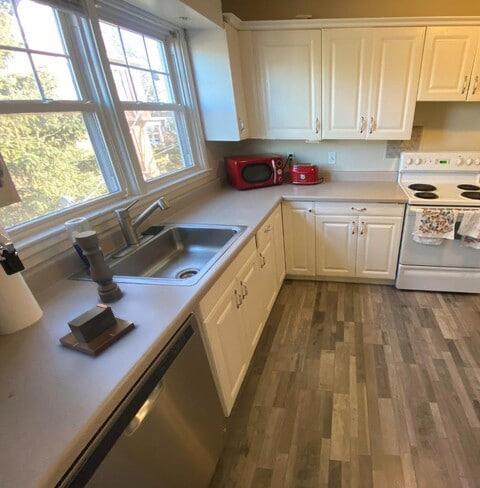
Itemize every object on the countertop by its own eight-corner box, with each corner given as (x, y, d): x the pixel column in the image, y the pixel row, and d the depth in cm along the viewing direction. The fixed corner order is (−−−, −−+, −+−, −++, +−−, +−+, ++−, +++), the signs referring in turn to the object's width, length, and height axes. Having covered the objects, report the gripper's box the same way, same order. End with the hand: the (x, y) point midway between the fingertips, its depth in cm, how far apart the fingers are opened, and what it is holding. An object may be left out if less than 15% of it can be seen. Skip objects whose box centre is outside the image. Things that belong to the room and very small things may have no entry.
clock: (86, 343, 78) (77, 325, 75) (75, 339, 80) (66, 322, 77) (117, 322, 86) (110, 305, 83) (106, 319, 87) (99, 302, 84)
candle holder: (111, 291, 104) (85, 229, 93) (126, 293, 103) (101, 230, 92) (96, 302, 98) (67, 237, 87) (112, 303, 98) (84, 238, 87)
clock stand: (59, 346, 80) (55, 340, 79) (104, 316, 91) (102, 311, 90) (93, 358, 76) (90, 352, 75) (136, 326, 87) (134, 320, 86)
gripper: (-85, 202, 60) (-39, 271, 67) (-39, 210, 55) (5, 283, 62) (-35, 193, 66) (2, 257, 73) (10, 199, 61) (45, 267, 68)
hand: (3, 269), depth 68 cm, fingers open, 9 cm apart
